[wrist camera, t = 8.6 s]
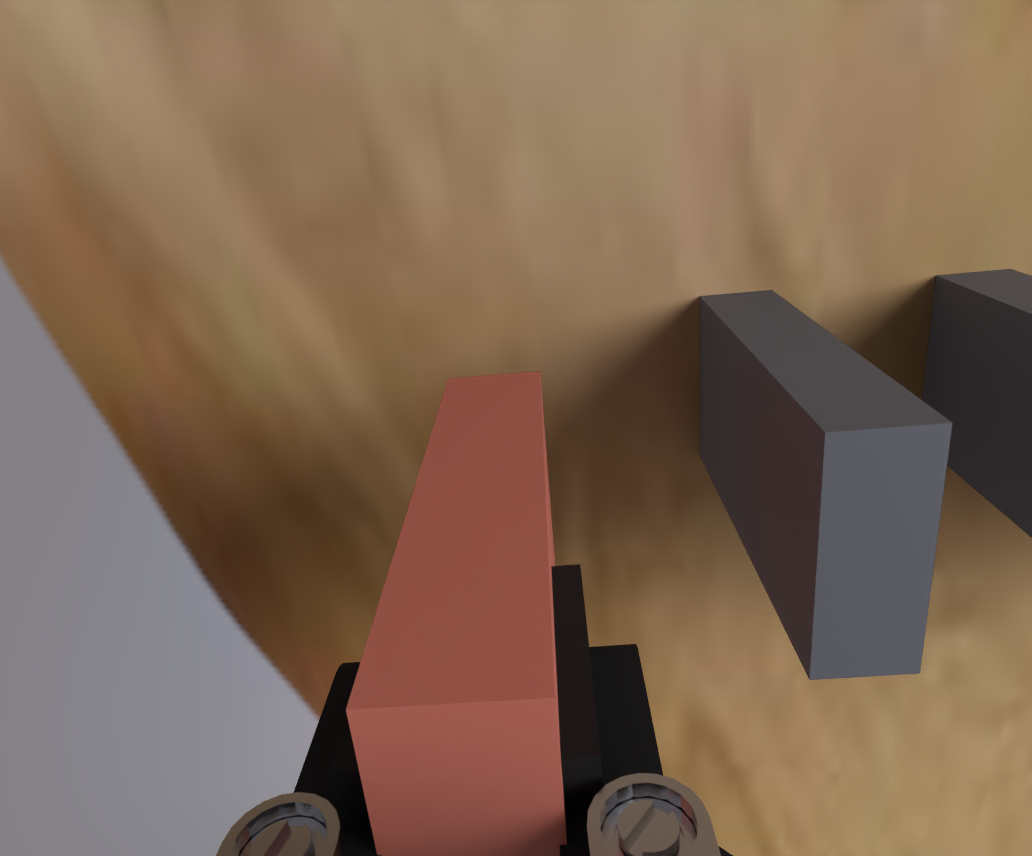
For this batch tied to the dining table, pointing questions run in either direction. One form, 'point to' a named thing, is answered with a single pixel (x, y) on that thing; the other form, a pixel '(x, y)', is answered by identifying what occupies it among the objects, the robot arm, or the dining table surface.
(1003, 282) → the domino
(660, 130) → the dining table surface
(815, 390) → the domino
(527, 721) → the red domino
